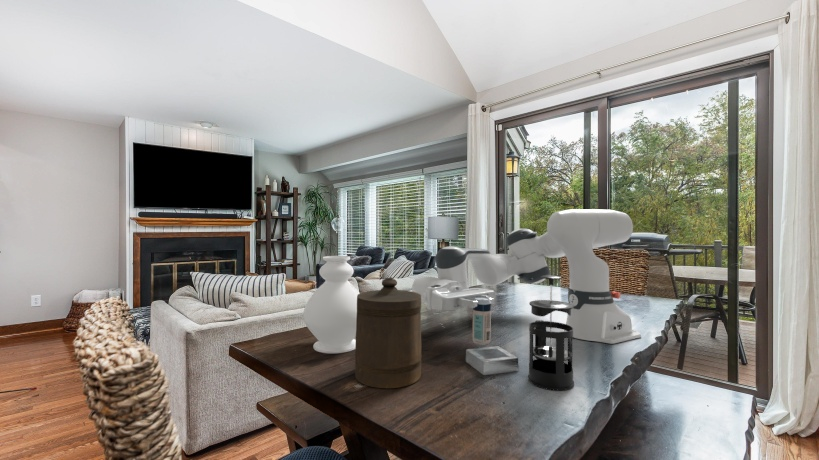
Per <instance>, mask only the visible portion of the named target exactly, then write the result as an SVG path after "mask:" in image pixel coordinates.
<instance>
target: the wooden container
mask: <svg viewBox="0 0 819 460" xmlns="http://www.w3.org/2000/svg"><path fill="white" fill-rule="evenodd" d="M397 284H398V281H397V280H396V279H394V277H385V278H383V280H382V281H381V285H382V288H381V289H377V290H368V291H364V292H359V293H360V294H358V295H357V318H356V337H355V339H356V347H355V349H354V350H355V354H354V355H355V357H354V359H355V364H354V365H355V366H354V367H355V375H354V376H355V379H356V380H357V381H358V382H359V383H360V384H362V385H365V386H367V387H371V388H375V389H376V388H377V389H398V388H399V389H400V388H403V387H408V386H410V385H413V384H415V383H416V382H418V381H419V380H420V379H421V376H422V325H421V324H422V319H421V318H422V316H421V315H422V314H421V311H422V302H421V295H420V294H418V293H416V292H412V290H411V291H410V290H403V289H401V290H400V289H397V287H396V286H397Z"/></svg>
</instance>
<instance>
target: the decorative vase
mask: <svg viewBox="0 0 819 460" xmlns="http://www.w3.org/2000/svg"><path fill="white" fill-rule="evenodd" d="M322 260H323V261H324V262H325V263H324V264H323V265H322V266H321V267H320V268H319V269H318V270H319V276H320V277H321V278H322V279H323V280H325V281H323V283H322V284H320V286H319V287H317V289H316V290H315V291H314V292H313V293H312V294H311V296H310V298H309V299H308V301H307V302H306V304H305V307H304V309H303V310H304V311H303V322H304V324H305V325H306V327H307V329H308V330H309V331H310V332H311V333H312V335H313V336H314V337H315V338H316V339H317V341H315V342H314V343H313V349H314V351H316V352H319V353H323V354H342V353H347V352H352V351H354V350H355V347H356V318H357V295H358V294H360V293H361V292H360V291H359V290H358V289H357V288H356V287H355V286H354V285H353V284H352V283H351V282H350V281H349V280H350V278H351V277H353V275H354V268H353V266H352V265H350V263H348V261H350V260H351V256H348V255H326V256H322Z"/></svg>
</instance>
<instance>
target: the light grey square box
mask: <svg viewBox="0 0 819 460" xmlns="http://www.w3.org/2000/svg"><path fill="white" fill-rule="evenodd" d="M465 363H467V364H468V365H470V366H471V367H472V368H474V369H475V370H476V371H478V372H479V374H481V375H483V376H488V375H496V374H503V373H513V372H519V358H518V356H516V355H514V354H513V353H510V352H509V351H507V350H505V349H504V348H503V347H500V346H498V345H496V346H486V347H477V348H475V347H474V348H468V349H467V348H466V349H465Z"/></svg>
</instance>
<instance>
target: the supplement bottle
mask: <svg viewBox="0 0 819 460" xmlns="http://www.w3.org/2000/svg"><path fill="white" fill-rule="evenodd" d="M474 300H475V301H477V302H478V304H477V305H478V307H476V308H472V332H471V333H472V337H471V338H472V342H473V343H474V344H475V345H478V346H487V345H488V344H491V334H492V332H491V330H492V327H491V325H492V324H491V322H492V320H491V319H492V305H491V301H490V299H489V298H484V297H477V298H475V299H474Z"/></svg>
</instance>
